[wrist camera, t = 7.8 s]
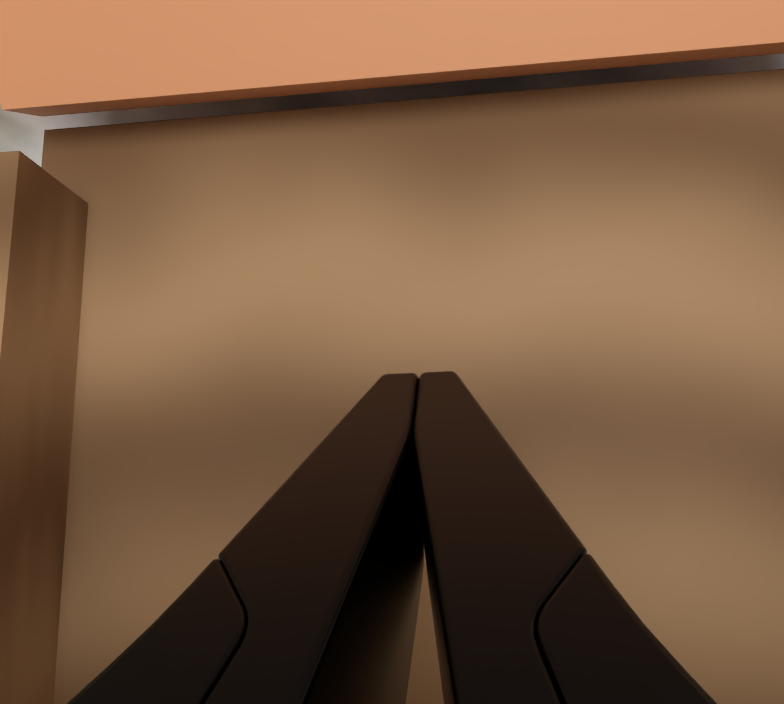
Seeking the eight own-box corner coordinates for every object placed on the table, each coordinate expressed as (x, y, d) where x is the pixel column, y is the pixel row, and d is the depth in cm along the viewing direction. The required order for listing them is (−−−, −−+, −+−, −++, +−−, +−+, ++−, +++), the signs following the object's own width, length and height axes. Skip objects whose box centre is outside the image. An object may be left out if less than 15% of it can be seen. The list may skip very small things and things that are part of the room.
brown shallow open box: (936, 884, 14) (1270, 1163, 8) (54, 854, 16) (-193, 1060, 10) (818, 124, 17) (994, -72, 11) (99, 177, 19) (-67, 34, 13)
